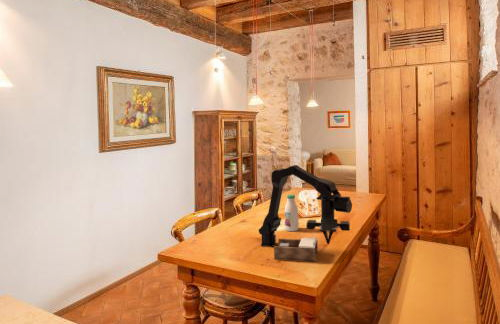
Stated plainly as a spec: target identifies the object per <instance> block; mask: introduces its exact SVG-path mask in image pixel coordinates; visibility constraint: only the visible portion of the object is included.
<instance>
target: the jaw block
mask: <svg viewBox="0 0 500 324" xmlns="http://www.w3.org/2000/svg"><path fill="white" fill-rule="evenodd" d="M278 246H279V247H289V243H281V244H280V245H279V244H278Z"/></svg>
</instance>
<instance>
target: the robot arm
mask: <svg viewBox="0 0 500 324" xmlns="http://www.w3.org/2000/svg"><path fill="white" fill-rule="evenodd" d="M291 176H294V177H296V178H298V179H300V180H301V181H303V182H305V183H307V184H308V185H310V186H311V187H313V188H314V189H315V190H316V192H318V193H319V194H318V196H317V197H316V200H317V201H318V200H320V202H321V203H320V204H321V205H320V207H321V210H320V211H321V213H320V214H321V218H320V222H319V221H318V222H317V220H316V219H308V220H306V221H307V222H306V230H315V228H319V232H322V234H323V237H324V238H325V242H326V244H327V245H330V242H331V238H332V236H333V234H334V233H336V232H337V229H338V228H340V230H341V231H346V232H347V231H348V232H350V227H351V226H350V222H349V220H345V221H344V220H340V222H338V219H337V218H335V212H340V213H346V214H347V213H348V214H350V213H351V212H352V209H353V203H352V200H351V197H350V196H342V194H341V193H340V191H339V189H337V186H336V183H335V182H334V181H331V180H328V179H325V178H320V177H318V176H316V175H314V174H312V173H311V172H309V171H307V170H305V169H304V168H302V167H301V166H299V165H298V164H294V165H291V166H288V167H287V168H284V167H283V168H280V169H279V168H278V169H275V170H273V171H272V172H271V178H270V179H271V184H272V190H271V197H270V202H269V208H268V212H267V214H266V216H265V217H264V219H263V222H262V225H261V227H260V228H259V229H258V233H259V235H261V244H260V246H261V247H274V246H275V245H276V243H277V235H276V234H275V233H276V232H277V230H278V228H279V227H280V226H281V221H282V218H281V217H280V216H279V210H280V206H281V205H280V204H281V199H282V195H283V190H284V186H285V185H286V184H287V181H288V179H289V177H291ZM328 231H329V233H328Z"/></svg>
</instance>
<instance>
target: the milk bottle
mask: <svg viewBox="0 0 500 324" xmlns="http://www.w3.org/2000/svg"><path fill="white" fill-rule="evenodd" d="M299 226H300V225H299V209H298V205H297V204H296V195H295V194H287V195H286V204H285V207H284V230H286V231H287V232H297V231H298V230H299Z"/></svg>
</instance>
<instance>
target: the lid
mask: <svg viewBox="0 0 500 324" xmlns="http://www.w3.org/2000/svg"><path fill="white" fill-rule="evenodd" d="M300 240H301V241H300V244H299V248H315V245H316V241H317V242H318V238H317V236H314V237H301V239H300Z"/></svg>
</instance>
